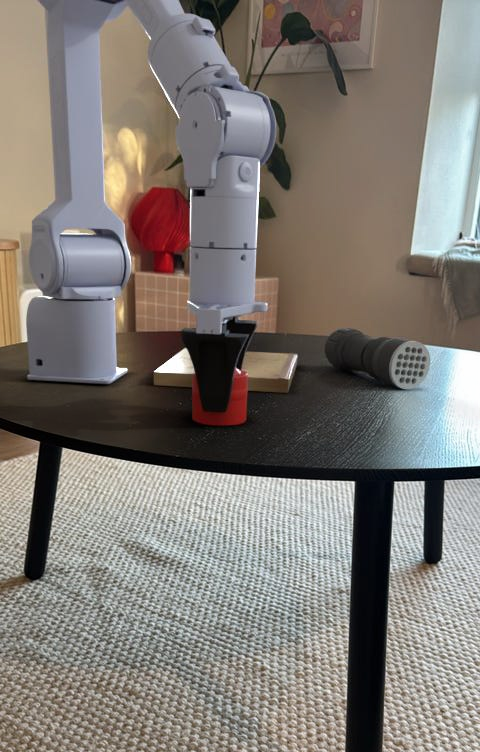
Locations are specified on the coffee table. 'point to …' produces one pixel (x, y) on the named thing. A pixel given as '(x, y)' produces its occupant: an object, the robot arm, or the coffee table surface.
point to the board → (261, 368)
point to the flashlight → (379, 357)
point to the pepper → (235, 407)
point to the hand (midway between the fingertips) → (219, 404)
